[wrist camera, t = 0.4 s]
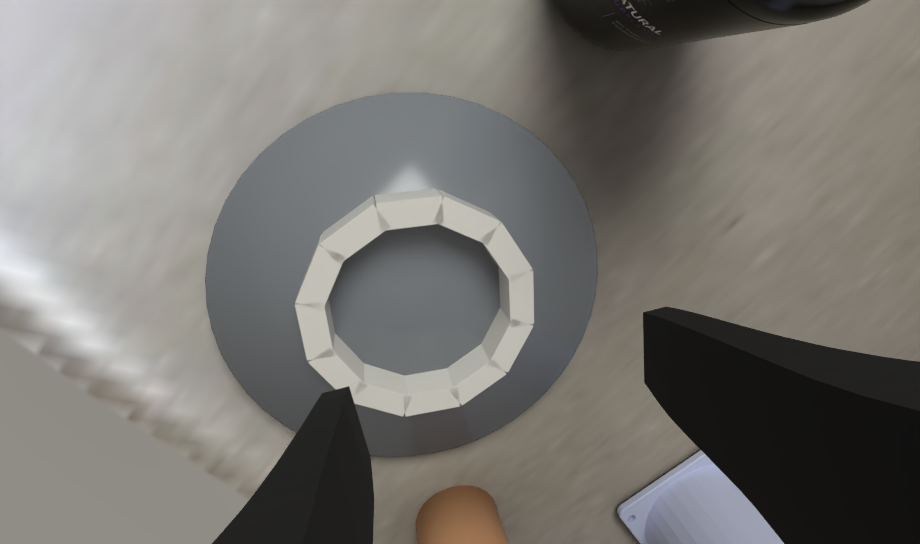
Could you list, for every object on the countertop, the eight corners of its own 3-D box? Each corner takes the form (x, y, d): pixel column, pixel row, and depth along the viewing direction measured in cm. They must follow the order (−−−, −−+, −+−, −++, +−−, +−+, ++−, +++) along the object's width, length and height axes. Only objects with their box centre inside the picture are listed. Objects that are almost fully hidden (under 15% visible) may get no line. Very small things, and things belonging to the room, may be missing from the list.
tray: (643, 315, 23) (672, 337, 21) (380, 499, 23) (382, 538, 21) (465, -2, 16) (480, -16, 14) (113, 262, 17) (78, 284, 15)
